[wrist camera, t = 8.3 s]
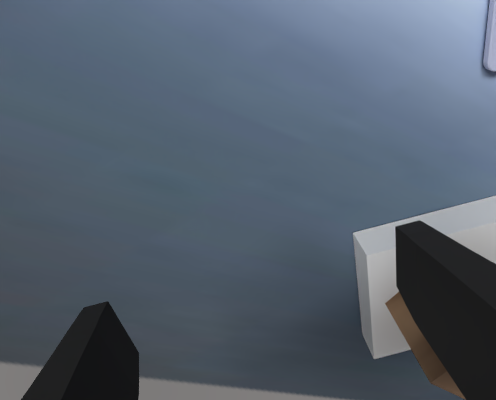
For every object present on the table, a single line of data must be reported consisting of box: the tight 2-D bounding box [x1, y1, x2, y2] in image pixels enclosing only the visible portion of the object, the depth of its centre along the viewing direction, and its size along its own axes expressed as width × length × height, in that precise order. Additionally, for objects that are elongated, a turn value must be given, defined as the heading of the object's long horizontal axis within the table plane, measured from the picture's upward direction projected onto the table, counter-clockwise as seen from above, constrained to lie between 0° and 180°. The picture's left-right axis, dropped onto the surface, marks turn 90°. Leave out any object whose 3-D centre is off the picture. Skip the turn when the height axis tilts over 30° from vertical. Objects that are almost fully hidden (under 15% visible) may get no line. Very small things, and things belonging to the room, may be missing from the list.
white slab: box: [353, 196, 496, 359], centre depth 24 cm, size 9×9×2 cm
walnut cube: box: [385, 292, 465, 399], centre depth 21 cm, size 5×5×5 cm
